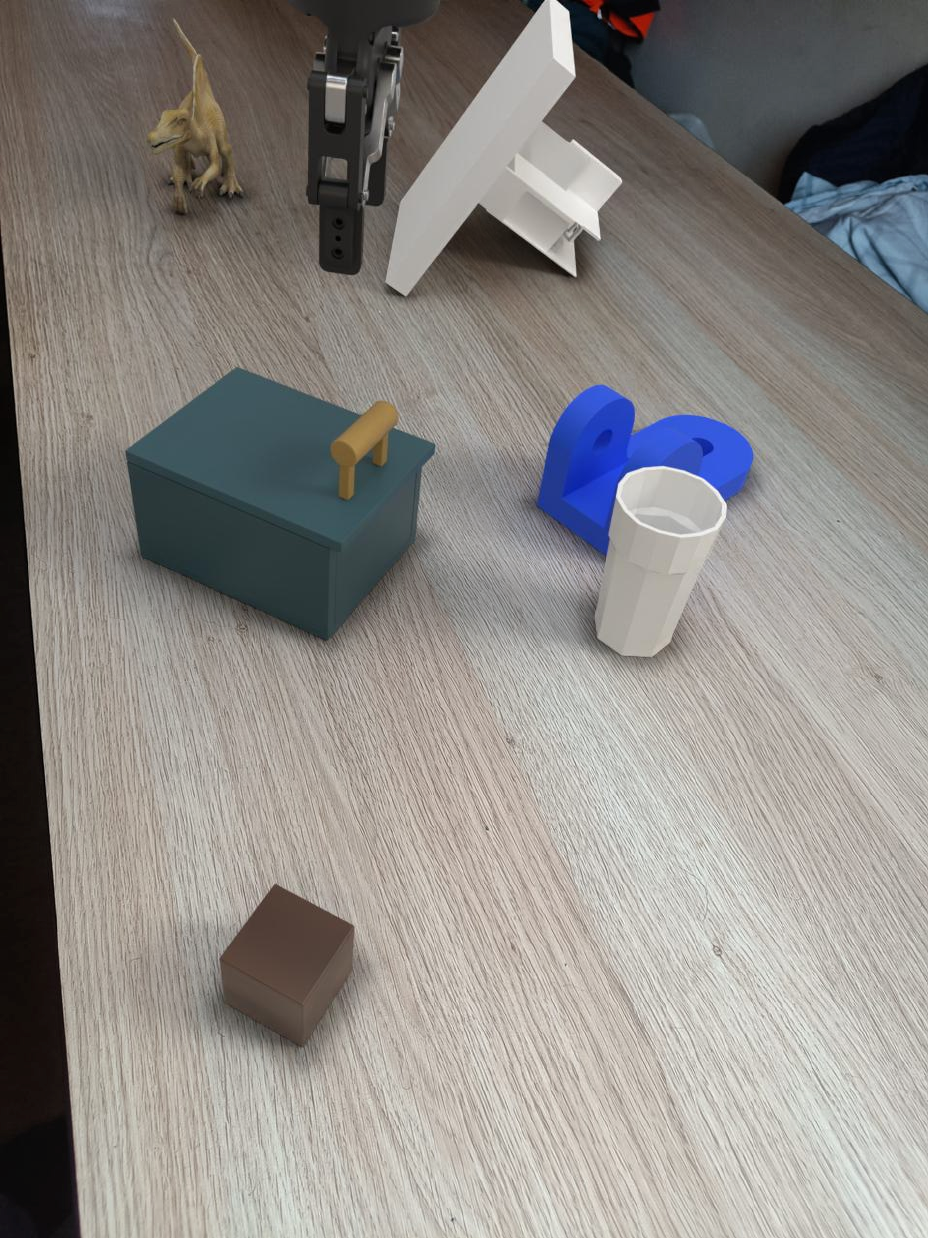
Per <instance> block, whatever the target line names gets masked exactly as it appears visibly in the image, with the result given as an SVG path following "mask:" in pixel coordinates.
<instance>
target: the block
mask: <svg viewBox="0 0 928 1238" xmlns="http://www.w3.org/2000/svg"><path fill="white" fill-rule="evenodd" d="M355 927H356V926H355V925H354V924H352V923H350V922H348V921H347V920H345V919H342V918H341V917H339V916H337V915H335V914H333V913H331V912H330V911H328V910H326V909H324V908H322V907H320V906H318V905H316V904H315V903H312V902H310V901H309V900H306V899H305V898H303V897H301V896H300V895H297V894H296V893H294V892H292V891H289V890H288V889H286V888H284V887H282V886H281V885H279V884H277V883H274V884H273V885H272V887H271V888H270V889H269V891H268V892H267V893H266V895H265V896H264V898H263V899H262V900H261V901H260V903H259V904H258V906H257V907H256V908H255V909H254V911H253V913H252V914H251V915H250V916H249V918H248V919H246V922H245V923H244V924H243V926H242V927H241V928H240V930H239V931H238V932H237V934H236V935H235V936H234V938H233V939H232V941H230V943H229V945H228V946H227V947H226V948H225V950H224V951H223V953H222V954H221V955H220V956H219V958H218V960H219V967H220V975H221V976H220V977H221V983H222V993H223V999H224V1004H226V1005H228V1006H230V1007H232V1008H233V1009H235V1010H237V1011H239V1012H240V1013H242V1014H243V1015H245V1016H248V1018H250V1019H253V1020H254V1021H256V1022H258V1023H259V1024H261V1025H263V1026H265V1027H266V1028H268V1029H270V1030H272V1031H274V1032H275V1033H277V1034H279V1035H281V1036H282V1037H284V1038H286V1039H287V1040H289V1041H291V1042H293V1043H294V1044H296V1045H297V1046H300V1047H302V1048H304V1047H305V1045H306V1044H307V1043H308V1041H309V1039H310V1038H311V1036H312V1034H313V1033H314V1031H315V1029H316V1028H317V1027H318V1025H319V1023H320V1022H321V1020H322V1019H323V1017H324V1015H325V1014H326V1012H327V1011H328V1009H329V1008H330V1006H331V1004H332V1003H333V1001H334V1000H335V998H336V997H337V995H338V993H339V992H340V990H342V989H341V988H342V987H343V986H344V984H345V983H346V981H347V979H348V977H349V976H350V975H351V974H352V972H353V961H354V959H353V958H354V946H355V945H354V944H355V943H354V941H355Z"/></svg>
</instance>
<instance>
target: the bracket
mask: <svg viewBox="0 0 928 1238" xmlns="http://www.w3.org/2000/svg"><path fill="white" fill-rule="evenodd" d="M635 419H636V410H635V405H634V403H633V402H632V401H631V400H630V399H628V398H627V397H625V396H623V395H622V394H621V393H619V392H617V391H615V390H614V389H613V388H611V387H609V386H607V385H606V384H595V385H592V386H590V387H588V388H586V389H584V390H583V391H582V392H580V393H579V394H578V395H577V396H576V397H574V398H573V400H572V401H570V402H569V404H568V405H567V407H566V408H565V409H564V410H563V411H562V413H561V415H560V416H559V418H558V420H557V422H556V423H555V425H554V428H553V429H552V432H551V435H550V437H549V441H548V445H547V451H546V456H545V460H544V466H543V471H542V477H541V481H540V486H539V490H538V491H539V492H538V496H537V497H538V498H537V502H536V507H538V508H539V509H540V510H541V511H543V512H544V513H546V514H548V515H549V516H550V517H551V518H553V519H554V520H556V521H557V522H558V523H560V524H561V525H563V526H564V527H565V528H567V529H568V530H570V531H571V532H572V533H573V534H575V535H577V536H578V537H579V538H581V539H582V540H583V541H585V542H586V543H587V544H589V545H590V546H592V547H593V548H594V549H596V550H597V551H598V552H600V553H601V554H603V555H604V556H605V557H607V552H608V546H609V541H610V538H609V535H608V534H609V529H610V524H611V519H612V514H613V509H614V504H615V499H616V494H617V489H618V484H619V482H620V481H621V480H622V479H623V478H624V476H625V475H626V474H627V473H629V472H632V471H635V470H638V469H641V468H645V467H657V466H665V467H670V468H674V469H679V470H684V471H686V472H689V473H691V474H694V475H696V476H698V477H701V478H703V479H705V480H706V481H707V482H708V483H709V484H710V485H712V486H713V487H714V488H715V489H716V490H717V491H718V492H719V493H720V495H721V496H722V498H723V499H724V501H725V502H726V501H727V500H728V499H730V498H731V497H733V496H735V495H736V494H738V493H739V492H740V491H742V489H743V488H744V486H745V483H746V482H747V481H746V480H747V477H748V476H749V472H750V470H751V468H752V465H753V462H754V451H753V447H752V446H751V444H750V442H749V441H748V440H747V438H746V437H745V436H744V435H743V434H741V433H740V432H739V431H738V430H736V429H735V428H733V427H731V426H730V425H728V424H726V423H724V422H721V421H719V420H717V419H714V418H710V417H706V416H702V415H695V414H675V415H670V416H667V417H664V418H660V419H658V420H657V421H655V422H654V423H652V424H650V425H647V426H646V427H644V428H642V429H640V430H639V431H636V432H634V433H633V429H634V425H635ZM632 433H633V434H632Z"/></svg>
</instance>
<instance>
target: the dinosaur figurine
mask: <svg viewBox="0 0 928 1238" xmlns="http://www.w3.org/2000/svg"><path fill="white" fill-rule="evenodd" d="M171 19H172V22H173V25H174V28H175V30H176V32H177V35H178V37H179V39H180V41H181V43H182V44H183V47H184V48H185V51H186V53H187V54H188V56H189V59H190V62H191V65H192V85H191V90H190V91H189V93H188V94H187V95H186V96H185V98H184V99H183V100H182V101H181V102H180V105H179V107H178V109H169V108H166V109H165V110H164V111H162V113H161V118H160V120H159V123H158V124H157V125H156V126H155V127H154V128H152V129H151V130H149V131H148V132H147V134H146V138H145V139H146V143H147V144H148V145H150V147H149V153H151V154H152V155H159V154H161V153H162V152H163V151H165V150H168V149H170V148H173V149H174V151H173V159H174V161H173V164H172V167H171V168H172V176H170V178H169V180H168V185H171V184H174V193H173V197H172V198H173V199H172V206H173V207H172V208H173V210H174V211H176V212H177V211H178V212H179V213H181V214H182V213H183V214H185V215H187V214H189V213H188V212H189V210H188V203H187V196H186V193H185V190H184V184H185V183H186V185H187V187H188V193H189V194H190V195H192V194H193V197H194V199H198V196H199V199H200V200H203V197H204V189H205V187H206V186H207V183H209V182H211V181H213V180H215V179H216V177H218V176H219V174H220V177H221V178H223V182H222V185H221V186H220V188H219V195H220V196H223V195H225V194H226V193H227V195H228V197H229V199H233V198H234V195H235V194H236V195H238V196H239V197H241V198H243V196H244V191H243V189H242V187H241V186H240V184H239V182H238V181H237V180H238V179H237V178H236V173H235V172H236V171H235V159H234V156H233V148H232V146H231V145H230V144H229V143H227V127H226V126H227V125H226V121H225V116H224V114H223V112H222V108H221V107H220V105H219V104H218V102H217V100H215V97H214V94H213V91H212V88H211V84H210V80H209V78H208V74H207V71H206V69H205V65H204V59H203V57H202V55H201V54H200V53H197V52H196V49H195V48H194V47H193V45H192V43H191V42H190V41H189V39H188V38H187V37H186V35H185V33H184V32H183V30H182V28H181V27H180V25H179V23H178V22H177V20H176V19H175V18H174V17H172V18H171ZM201 156H202V157H206V159H207V162H208V163H209V166H208V167H207V168H206V169H205V171H204V172H203V173H202V174H201V176H198V177H196V178H194V180H193V178H192V177H193V176H192V170H194V171H195V170H196V169H197V167H196V163H195V161H194V159H199V158H200V157H201ZM193 158H194V159H193ZM220 158H221V169H220Z"/></svg>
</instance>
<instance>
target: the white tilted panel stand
mask: <svg viewBox="0 0 928 1238" xmlns="http://www.w3.org/2000/svg"><path fill="white" fill-rule="evenodd" d="M570 18H571V17H570V11H569V10H568V9H567V8H566V7H565V6H564V5H562V3H560V2H559V1H558V0H544V1H543V2H542V3H541V5H540V6H539V8H538V9H537V11H536V12H534V15H533V16H532V18H530V20H529V22H528V23H527V25H526V26H525V27H524V28H523V30H522V31H521V33H520V34H519V36H518V37H517V38H516V40H515V41H514V43H513V44H512V45H511V47H510V48H509V49H508V51H507V52H506V54H505V55H504V57H503V58H502V60H501V61H500V62H499V64H498V65H497V67H495V69H494V71H493V72H492V74H491V75H490V76H489V77H488V79H487V81H485V83H484V84H483V86H482V87H481V89H480V90H479V92H478V93H477V94H476V96H475V97H474V98H473V100H472V101H471V103H470V104H469V105H468V107H467V108H466V110H465V111H464V112H463V114H462V115H461V117H460V118H459V119H458V121H457V122H456V123H455V125H454V126H453V128H452V129H451V130H450V132H449V133H448V135H447V136H446V138H445V139H444V140H443V142H442V143H441V145H439V147H438V149H437V150H436V152H435V153H434V154H433V155H432V157H431V159H430V160H429V161H428V162H427V164H426V165H425V167H424V168H423V169H422V171H421V172H420V174H419V175H418V177H417V178H416V179H415V180H414V182H413V184H411V186H410V187H409V189H408V190H407V192H406V193H405V194H404V196H403V198H402V199H401V200H400V202H399V207H398V212H397V216H396V217H397V218H396V223H395V228H394V235H393V239H392V244H391V249H390V255H389V259H388V260H389V261H388V265H387V271H386V276H385V282H384V283H386V284H387V285H388V286H390V287H392V288H393V289H394V290H396V292H399V293H400V294H401V295H403V296H404V297H407V296H408V295H409V294H410V292H411V291H412V290H413V289H414V288H415V286H416V285H417V283H418V282H419V281H420V280H421V278H422V277H423V276H424V274H425V273H426V271H427V270H428V269H429V267H430V266H431V265H433V264H432V263H433V262H434V261H435V260H436V258H437V257H439V255H440V254H441V252H442V251H443V250H444V248H445V247H446V246H447V244H448V243H449V242H450V241H451V240H452V238H453V237H454V235H455V234H456V233H457V232H458V230H459V229H460V227H461V226H462V225H463V224H464V222H465V221H466V220H467V218H469V216H470V215H471V214H472V212H473V211H474V209H475V208H476V207H477V205H480V206H482V207H483V208H484V209H485V211H486V212H487V213H489V214H490V215H492V217H494V218H495V219H497V220H498V221H500V222H501V223H502V224H503V225H505V226H506V227H508V229H510V230H511V231H513V232H514V233H516V234H517V235H518V236H519V237H521V238H522V239H524V240H525V241H526V242H527V243H528V244H530V245H531V246H532V247H534V248H535V249H537V250H538V251H539V252H540V253H542V254H543V255H545V256H546V257H547V258H549V259H550V260H551V261H552V262H554V263H555V264H556V265H558V266H559V267H560V268H562V269H563V270H565V272H567V273H569V274H570V275H572V277H574V278H575V279H576V278H577V266H576V265H577V264H576V252H575V240H576V239H577V237H579V235H581V233H582V232H583V231H585V232H586V233H587V234H589V235H590V236H591V237H593V238H594V239H595V240H596V241H598V242H600V241H601V239H602V237H601V230H600V221H599V213H598V212H599V211H600V210H601V208H602V207H603V206H604V205H605V203H606V202H608V200H609V199H610V198H611V196H612V195H613V194H614V193H615V192H616V191H617V189H618V188H620V187H621V185H622V184H623V179H622V178H621V177H620V176H619V175H618V174H617V173H615V172H614V171H613V170H612V169H610V168H609V167H608V166H606V164H604V163H603V162H602V161H600V160H599V159H598V157H595V155H593V154H592V153H591V152H590V151H588V149H586V148H585V147H583V146H582V145H581V144H580V143H579V142H577V141H576V140H575V139H571V140H570V142H569V141H567V140H566V139H565V138H563V137H562V136H561V135H559V134H558V133H557V132H556V131H555V130H554V129H552V128H551V127H550V126H549V125H547V123H545V122H543V121H544V119H545V117H546V116H547V115H548V114H549V113H550V111H551V110H552V109H553V107H554V106H555V105H556V104H557V102H558V101H559V100H560V98H561V97H562V96H563V94H564V93H565V92H566V90H567V89H568V88H569V86H570V85H571V84H572V82H573V81H574V80H575V79H576V77H577V76H576V67H575V56H574V46H573V38H572V27H571V19H570Z"/></svg>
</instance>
